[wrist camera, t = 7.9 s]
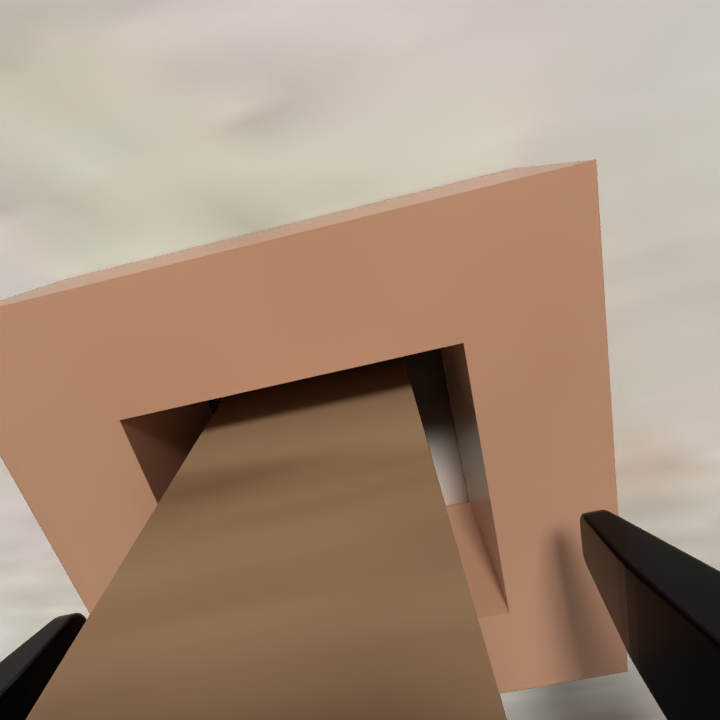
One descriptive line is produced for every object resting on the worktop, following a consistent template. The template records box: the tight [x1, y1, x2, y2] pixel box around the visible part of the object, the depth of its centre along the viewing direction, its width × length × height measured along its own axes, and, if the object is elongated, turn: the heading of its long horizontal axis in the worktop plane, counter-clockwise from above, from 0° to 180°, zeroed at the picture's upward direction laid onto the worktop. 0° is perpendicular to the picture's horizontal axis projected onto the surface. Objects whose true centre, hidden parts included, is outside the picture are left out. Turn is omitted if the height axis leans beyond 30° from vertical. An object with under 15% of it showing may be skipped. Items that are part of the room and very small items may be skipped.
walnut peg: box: [26, 357, 507, 720], centre depth 9 cm, size 4×4×10 cm
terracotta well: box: [0, 160, 628, 694], centre depth 12 cm, size 12×12×4 cm
